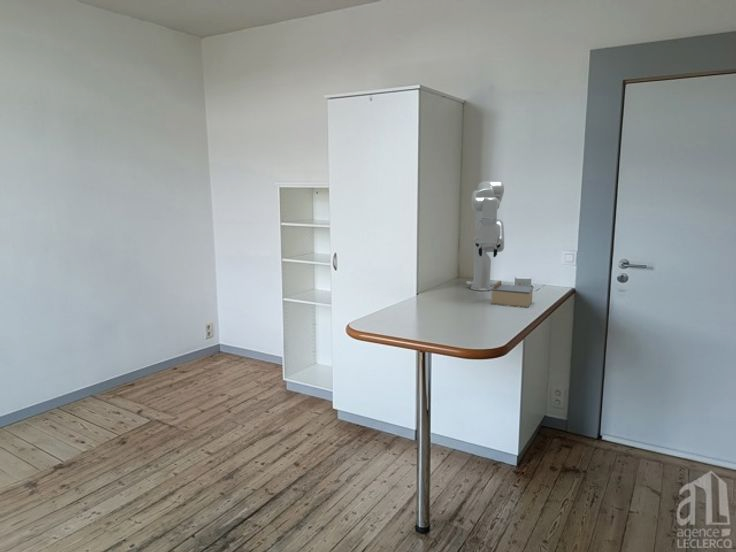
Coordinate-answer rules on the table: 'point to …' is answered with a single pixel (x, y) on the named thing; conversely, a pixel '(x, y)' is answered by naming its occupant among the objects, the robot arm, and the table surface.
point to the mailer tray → (512, 298)
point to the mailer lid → (511, 288)
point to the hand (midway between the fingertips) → (487, 256)
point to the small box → (523, 281)
